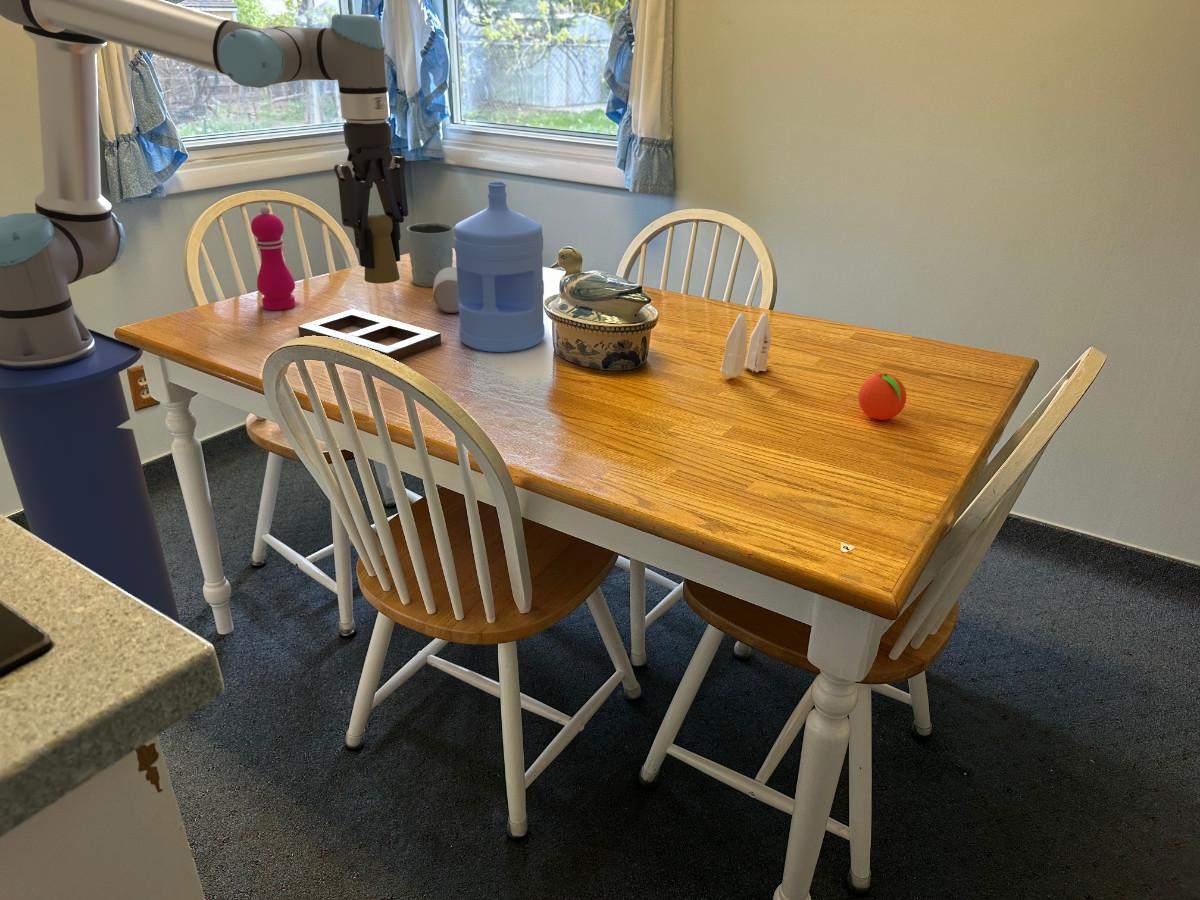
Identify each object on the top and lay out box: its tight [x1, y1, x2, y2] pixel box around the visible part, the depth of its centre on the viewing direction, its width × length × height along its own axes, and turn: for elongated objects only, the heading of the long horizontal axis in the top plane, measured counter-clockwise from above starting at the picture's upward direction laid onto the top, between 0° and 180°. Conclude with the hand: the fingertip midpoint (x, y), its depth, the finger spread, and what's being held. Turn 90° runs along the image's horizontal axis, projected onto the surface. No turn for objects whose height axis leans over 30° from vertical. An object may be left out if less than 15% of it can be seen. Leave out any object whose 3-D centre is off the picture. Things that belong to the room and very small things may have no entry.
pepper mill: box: [250, 205, 296, 311], centre depth 174 cm, size 7×7×20 cm
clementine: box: [857, 373, 907, 421], centre depth 132 cm, size 8×7×7 cm
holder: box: [297, 308, 442, 361], centre depth 161 cm, size 13×24×2 cm, turn 55°
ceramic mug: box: [432, 266, 459, 314], centre depth 177 cm, size 11×8×8 cm
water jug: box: [453, 181, 546, 353], centre depth 156 cm, size 16×16×28 cm
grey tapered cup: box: [406, 222, 455, 288], centre depth 193 cm, size 10×10×12 cm
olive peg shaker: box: [363, 213, 401, 285], centre depth 151 cm, size 6×6×11 cm
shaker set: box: [719, 311, 772, 380], centre depth 146 cm, size 12×4×11 cm, turn 134°
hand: (380, 263), depth 152 cm, fingers closed on olive peg shaker, 5 cm apart
